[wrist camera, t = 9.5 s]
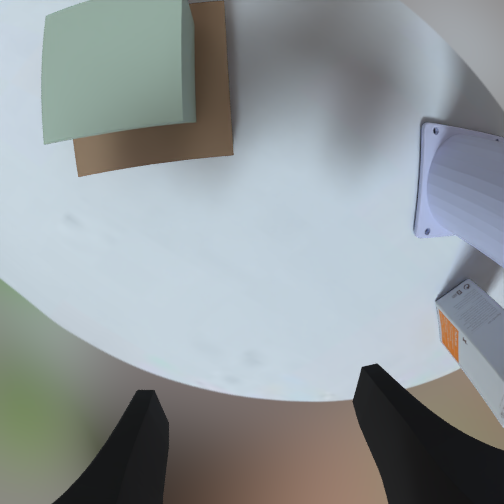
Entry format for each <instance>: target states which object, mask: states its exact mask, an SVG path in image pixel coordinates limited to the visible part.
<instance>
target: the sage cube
mask: <svg viewBox="0 0 504 504" xmlns="http://www.w3.org/2000/svg"><path fill="white" fill-rule="evenodd" d="M41 100H42V124H43V138H44V145H46V144H51V143H56V142H61V141H66V140H71V139H77V138H83V137H89V136H95V135H101V134H106V133H112V132H118V131H125V130H131V129H138V128H146V127H154V126H162V125H172V124H182V123H194V122H196V97H195V25H194V21H193V17H192V14H191V10H190V6H189V3H188V0H89V1H86V2H83V3H80V4H77V5H74V6H71V7H68V8H65V9H62V10H60V11H57V12H54V13H52V14H49V15H47V16H46V19H45V27H44V38H43V51H42V74H41Z"/></svg>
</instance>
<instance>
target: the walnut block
mask: <svg viewBox="0 0 504 504" xmlns="http://www.w3.org/2000/svg"><path fill="white" fill-rule="evenodd" d="M189 6H190V10H191V14H192V17H193V21H194V25H195V97H196V122H194V123H182V124H172V125H162V126H154V127H146V128H138V129H131V130H125V131H118V132H112V133H106V134H101V135H95V136H89V137H83V138H77V139H73V143H74V151H75V158H76V165H77V171H78V177H81V176H86V175H91V174H97V173H102V172H107V171H113V170H119V169H125V168H131V167H137V166H144V165H150V164H157V163H165V162H172V161H181V160H189V159H198V158H208V157H219V156H230V155H234V153H233V139H232V124H231V109H230V93H229V78H228V61H227V44H226V27H225V9H224V1H212V2H201V3H192V4H189Z"/></svg>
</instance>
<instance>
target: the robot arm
mask: <svg viewBox="0 0 504 504" xmlns="http://www.w3.org/2000/svg"><path fill="white" fill-rule="evenodd" d="M434 128H435V133H433V129H434ZM426 229H427V231H426V232H425V230H426ZM414 234H415V236H417V237H418V238H431V237H441V236H452V235H456V236H458V237H459V238H461V239H462V240H464V241H465V242H467V243H468V244H470V245H471V246H473V247H474V248H476V249H477V250H479V251H480V252H482V253H483V254H485V255H486V256H488V257H489V258H490V259H492V260H493V261H495V262H496V263H498V264H499V265H500V266H502V267H503V268H504V137H500V136H496V135H492V134H488V133H483V132H479V131H474V130H469V129H464V128H459V127H453V126H448V125H442V124H435V123H429V122H426V123H424V124H423V126H422V138H421V165H420V180H419V192H418V203H417V212H416V220H415V228H414ZM353 405H354V408H355V412H356V416H357V419H358V422H359V425H360V428H361V430H362V432H363V435H364V437H365V439H366V442H367V444H368V446H369V448H370V451H371V453H372V456H373V458H374V460H375V462H376V465H377V467H378V469H379V472H380V475H381V477H382V480H383V484H384V488H385V492H386V495H387V499H388V504H504V451H503V450H501V449H497V448H495V447H492V446H490V445H488V444H485V443H483V442H481V441H479V440H477V439H475V438H473V437H471V436H469V435H467V434H465V433H463V432H462V431H460V430H458V429H457V428H455V427H453V426H451V425H450V424H449V423H447V422H446V421H444V420H443V419H441V418H440V417H439V416H437V415H436V414H434V413H433V412H432V411H430V410H429V409H428V408H427V407H426V406H424V405H423V404H422V403H421V402H420V401H418V400H417V399H416V398H415V397H414V396H412V395H411V394H410V393H409V392H408V391H407V390H406V389H404V388H403V387H402V386H401V385H400V384H399V383H398V382H397V381H396V380H395V379H394V378H392V377H391V376H390V375H389V374H388V373H387V372H386V371H385V370H384V369H383V368H382V367H381V366H379V365H378V364H373V365H369V366H364V367H362V369H361V373H360V376H359V380H358V384H357V388H356V391H355V395H354V398H353ZM168 449H169V422H168V420H167V418H166V415H165V413H164V411H163V409H162V407H161V404H160V402H159V400H158V398H157V395H156V393H155V390H138V391H136V393H135V395H134V396H133V398H132V400H131V402H130V404H129V405H128V407H127V409H126V411H125V412H124V414H123V416H122V417H121V419H120V421H119V423H118V424H117V426H116V427H115V429H114V430H113V432H112V434H111V435H110V437H109V438H108V440H107V441H106V443H105V445H104V446H103V447H102V449H101V450H100V451H99V453H98V454H97V456H96V457H95V458H94V460H93V461H92V462H91V464H90V465H89V466H88V467H87V469H86V470H85V471H84V472H83V473H82V475H81V476H80V477H79V478H78V479H77V480H76V481H75V482H74V483H73V484H72V485H71V487H70V488H69V489H68V490H67V491H66V492H65V493H64V494H63V495H61V496H60V498H58V499H57V500H56V501H55V502H54V503H52V504H163V492H164V483H165V475H166V466H167V457H168Z"/></svg>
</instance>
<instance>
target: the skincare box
mask: <svg viewBox="0 0 504 504" xmlns="http://www.w3.org/2000/svg"><path fill="white" fill-rule="evenodd" d="M436 306H437V312H438V320H439V329H440V341H441V343H442V344H443V345H444V346H445V348H446V349H447V350H448V351H449V353H450V354H451V355H452V357H453V358H454V359H455V361H456V362H457V363H458V365H459V366H460V367H461V369H462V370H463V371H464V373H465V374H466V375H467V377H468V378H469V379H470V381H471V382H472V384H473V385H474V386H475V388H476V389H477V390H478V392H479V393H480V395H481V396H482V397H483V399H484V400H485V402H486V403H487V405H488V406H489V408H490V409H491V410H492V412H493V413H494V415H495V416H496V418H497V420H498V421H499V423H500V424H501V426H502V427H504V309H503V308H502V307H501V306H500V305H499V304H498V303H497V302H496V301H495V300H494V299H492V298H491V297H490V296H489V295H488V294H487V293H486V292H485V291H484V290H482V289H481V288H480V287H479V286H478V285H477V284H475V283H474V282H473V281H472V280H471V279H467V280H465V281H464V282H462V283H461V284H460V285H458V286H457V287H456V288H454V289H453V290H451V291H450V292H449V293H447V294H446V295H444V296H443V297H441V298H440V299H438V300H437V301H436Z"/></svg>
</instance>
